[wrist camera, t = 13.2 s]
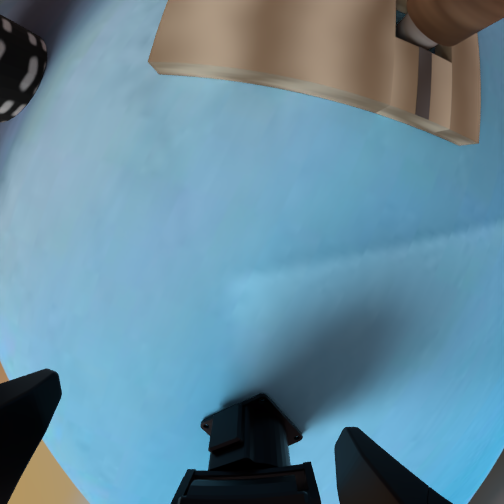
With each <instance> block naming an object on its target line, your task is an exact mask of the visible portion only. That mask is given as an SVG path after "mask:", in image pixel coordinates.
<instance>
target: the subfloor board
mask: <svg viewBox="0 0 504 504" xmlns="http://www.w3.org/2000/svg"><path fill="white" fill-rule="evenodd" d="M406 4H407V0H168V2H167V4H166V7H165V10H164V13H163V15H162V18H161V21H160V24H159V27H158V30H157V33H156V36H155V40H154V43H153V46H152V49H151V53H150V56H149V60H148V62H149V64H150V65H151V66H152V67H153V68H154V69H155V70H156V71H157V72H158V74H162V75H179V76H193V77H203V78H213V79H222V80H230V81H237V82H244V83H250V84H257V85H263V86H268V87H274V88H279V89H284V90H289V91H294V92H298V93H303V94H307V95H312V96H316V97H320V98H324V99H328V100H332V101H335V102H339V103H343V104H346V105H350V106H353V107H357V108H360V109H363V110H367V111H370V112H373V113H376V114H379V115H382V116H385V117H388V118H391V119H394V120H397V121H400V122H402V123H405V124H408V125H410V126H413V127H416V128H418V129H421V130H423V131H426V132H428V133H431V134H433V135H436V136H438V137H440V138H443V139H445V140H447V141H450V142H452V143H454V144H456V145H459V146H461V145H469V144H478V143H479V132H480V108H481V82H480V59H479V46H478V36H477V33H475V34H474V35H472V36H470V37H469V38H467V39H465V40H463V41H462V42H460V43H458V44H457V45H455V46H450V47H449V46H443V45H440V44H437V45H436V46H435V54H433V53H432V52H430V51H428V50H426V49H424V48H421V47H418V46H416V45H413V44H411V43H409V42H406V41H404V40H401V39H399V38H396V37H395V29H396V10H397V11H400V12H402V13H404V14H407V13H408V11H407V5H406Z"/></svg>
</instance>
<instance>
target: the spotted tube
mask: <svg viewBox="0 0 504 504" xmlns="http://www.w3.org/2000/svg"><path fill="white" fill-rule="evenodd" d="M46 61H47V50H46V45H45V43H44V41H43V40H42V39H41V38H40V37H39V36H37V35H36V34H34V33H32V32H31V31H29V30H27V29H25V28H24V27H22V26H20V25H18V24H17V23H15V22H13V21H11V20H9V19H7V18H6V17H4V16H2V15H0V122H5V121H8V120H10V119H11V118H13V117H15V116H16V115H17V114H18V113H19V112H21V111H22V109H23V108H24V107H25V106H26V105H27V104H28V102H29V101H30V99H31V98H32V97H33V95H34V93H35V91H36V90H37V88H38V86H39V83H40V81H41V79H42V76H43V73H44V70H45V66H46Z"/></svg>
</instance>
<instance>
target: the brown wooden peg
mask: <svg viewBox="0 0 504 504" xmlns="http://www.w3.org/2000/svg"><path fill="white" fill-rule="evenodd" d="M406 5H407V11H408V13H407V14H406V15H405V17H404V18H403V19H402V20H401V21H400V22H399V23H398V24H397V25H396V29H395V37H396V38H399V39H401V40H404V41H406V42H409V43H411V44H413V45H416V46H418V47H421V48H424V49H426V50H428V51H429V50H430V49H431V48H433V47H434V46H436V45H437V44H440V45H443V46H449V47H450V46H455V45H457V44H458V43H460V42H462V41H463V40H465V39H467V38H469V37H470V36H472V35H474V34H475V33H477V32H479V31H481V30H482V29H484V28H486V27H488V26H490V25H491V24H493V23H495V22H497V21H499V20H500V19H502V18H504V0H407V4H406Z"/></svg>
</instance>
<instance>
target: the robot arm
mask: <svg viewBox="0 0 504 504" xmlns="http://www.w3.org/2000/svg"><path fill="white" fill-rule="evenodd" d="M61 395H62V391H61V385H60V380H59V375H58V373H57V372H55V371H53V370H50V369H43V370H40V371H37V372H34V373H31V374H28V375H25V376H22V377H19V378H16V379H13V380H10V381H7V382H4V383H1V384H0V504H7V503H8V501H9V499H10V497H11V495H12V493H13V491H14V489H15V487H16V485H17V483H18V481H19V479H20V478H21V475H22V474H23V472H24V470H25V468H26V466H27V464H28V463H29V461H30V459H31V457H32V455H33V454H34V452H35V450H36V448H37V446H38V445H39V443H40V441H41V440H42V438H43V436H44V434H45V432H46V430H47V428H48V426H49V424H50V421H51V419H52V417H53V414H54V412H55V410H56V408H57V406H58V403H59V401H60V399H61ZM260 399H264V400H263V401H261V400H260ZM201 428H202V429H203V430H204V431H205V432H206V433H207V434H208V435H210V442H209V448H208V450H209V452H211V453H210V460H209V467H208V471H196V470H195V469H188V470H187V472H186V474H185V476H184V477H183V479H182V481H181V483H180V485H179V487H178V490H177V492H176V494H175V496H174V498H173V500H172V502H171V504H321V500H320V495H319V491H318V487H317V484H316V480H315V476H314V472H313V468H312V465H311V462H305V463H303V464H299V465H290V457H289V449H288V446H289V445H292V444H294V443H296V442H298V441H300V440H302V438H303V436H302V433H301V432H300V431H299V430H298V429H297V428H296V426H295V425H294V424H293V423H292V422H291V421H290V420H289V419H288V418H287V417H286V416H285V414H284V413H283V412H282V411H281V410H280V409H279V408H278V407H277V406H276V405H275V403H274V402H273V401H272V400H271V399H270V398H269V397H268V396H267V395H266V394H259V395H257V396H255V397H253V398H251V399H248V400H246V401H244V402H242V403H240V404H236V405H234V406H232V407H230V408H228V409H226V410H223V411H221V412H219V413H217V414H214V416H211V417H209V418H207V419H204V420H202V422H201ZM296 436H298V437H296ZM335 464H336V479H337V490H338V496H339V501H340V504H453V503H451V502H450V501H448V500H447V499H445V498H444V497H442V496H441V495H440V494H438V493H437V492H436V491H434V490H433V489H432V488H430V487H429V486H428V485H427V484H425V483H424V482H423V481H421V480H420V479H419V478H418V477H416V476H415V475H414V474H413V473H411V472H410V471H409V470H408V469H407V468H405V467H404V466H403V465H402V464H400V463H399V462H398V461H397V460H396V459H394V458H393V457H392V456H391V455H390V454H388V453H387V452H386V451H385V450H384V449H382V448H381V447H380V446H379V445H378V444H376V443H375V442H374V441H373V440H372V439H371V438H369V437H368V436H367V435H366V434H365V433H364V432H363V431H361V430H360V429H359V428H358V427H345V428H344V429H343V430H342V432H341V434H340V436H339V438H338V440H337V442H336V444H335Z"/></svg>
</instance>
